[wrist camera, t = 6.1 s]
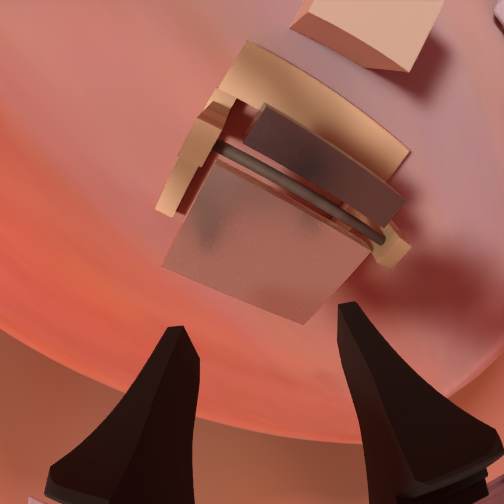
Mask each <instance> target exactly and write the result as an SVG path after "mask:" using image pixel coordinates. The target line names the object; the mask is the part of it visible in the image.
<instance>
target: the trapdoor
mask: <svg viewBox="0 0 504 504" xmlns="http://www.w3.org/2000/svg"><path fill="white" fill-rule="evenodd" d="M243 144H245V145H247V146H249V147H251V148H252V149H254V150H256V151H258V152H260V153H262V154H263V155H265V156H267V157H269V158H271V159H272V160H274V161H276V162H278V163H279V164H281V165H283V166H285V167H286V168H288V169H290V170H292V171H293V172H295V173H297V174H299V175H300V176H302V177H304V178H305V179H307V180H309V181H310V182H312V183H314V184H315V185H317V186H319V187H320V188H322V189H323V190H325V191H327V192H328V193H330V194H332V195H333V196H335V197H336V198H338V199H339V200H341V201H343V202H344V203H346V204H347V205H349V206H350V207H352V208H354V209H355V210H357V211H358V212H360V213H361V214H363V215H364V216H366V217H367V218H369V219H370V220H372V221H373V222H375V223H376V224H378V225H379V226H381V227H382V228H383V229H384V228H385V227H386V226H387V225H388V223H389V222H390V221H391V220H392V218H393V217H394V216H395V215H396V214H397V212H398V211H399V210H400V208H401V207H402V206H403V205H404V203H405V202H406V200H405V199H404V198H403V197H402V196H401V195H400V194H399V193H398V192H397V191H396V190H395V189H394V188H393V187H392V186H390V185H389V184H388V183H386V182H385V181H384V180H383V179H381V178H380V177H379V176H377V175H376V174H375V173H373V172H372V171H371V170H369V169H368V168H366V167H365V166H364V165H362V164H361V163H360V162H358V161H357V160H355V159H354V158H353V157H351V156H350V155H348V154H347V153H345V152H344V151H342V150H341V149H340V148H338V147H337V146H335V145H334V144H332V143H331V142H329V141H328V140H326V139H325V138H323V137H321V136H320V135H318V134H317V133H315V132H314V131H312V130H311V129H309V128H307V127H306V126H304V125H303V124H301V123H299V122H298V121H296V120H294V119H293V118H291V117H289V116H288V115H286V114H284V113H283V112H281V111H279V110H277V109H276V108H274V107H272V106H270V105H269V104H267V103H265V102H264V103H263V104H262V106H261V108H260V109H259V111H258V112H257V114H256V116H255V117H254V119H253V121H252V122H251V124H250V125H249V127H248V129H247V130H246V132H245V134H244V137H243ZM370 252H371V250H370V248H369V246H368V244H367V243H366V242H365V241H364V240H362V239H360V238H359V237H357V236H356V235H354V234H352V233H351V232H349V231H347V230H346V229H344V228H342V227H341V226H339V225H337V224H336V223H334V222H332V221H331V220H329V219H327V218H325V217H324V216H322V215H320V214H319V213H317V212H315V211H313V210H312V209H310V208H308V207H306V206H305V205H303V204H301V203H299V202H298V201H296V200H294V199H292V198H291V197H289V196H287V195H285V194H283V193H281V192H280V191H278V190H276V189H274V188H272V187H271V186H269V185H267V184H265V183H263V182H261V181H259V180H258V179H256V178H254V177H252V176H250V175H248V174H246V173H244V172H242V171H240V170H239V169H237V168H235V167H233V166H231V165H229V164H227V163H225V162H223V161H221V160H219V159H217V158H216V160H215V162H214V164H213V166H212V167H211V169H210V171H209V173H208V175H207V176H206V178H205V180H204V182H203V184H202V186H201V188H200V189H199V191H198V193H197V195H196V197H195V199H194V201H193V203H192V205H191V207H190V208H189V210H188V212H187V214H186V216H185V218H184V220H183V222H182V224H181V226H180V228H179V230H178V232H177V234H176V236H175V238H174V240H173V242H172V244H171V246H170V248H169V250H168V252H167V254H166V257H165V259H164V262H163V265H162V267H164V268H167V269H169V270H171V271H173V272H176V273H178V274H180V275H182V276H185V277H187V278H189V279H192V280H194V281H196V282H199V283H201V284H203V285H206V286H208V287H210V288H213V289H215V290H217V291H220V292H222V293H225V294H227V295H229V296H232V297H234V298H237V299H239V300H241V301H244V302H246V303H249V304H251V305H254V306H256V307H259V308H261V309H264V310H266V311H269V312H271V313H274V314H276V315H279V316H281V317H284V318H287V319H289V320H292V321H294V322H297V323H300V324H302V325H304V324H305V323H306V322H307V321H308V320H309V319H310V318H311V317H312V316H313V315H314V314H315V313H316V312H317V310H318V309H319V308H320V307H321V306H322V305H323V304H324V303H325V302H326V301H327V300H328V299H329V298H330V297H331V296H332V295H333V294H334V292H335V291H336V290H337V289H338V288H339V287H340V286H341V285H342V284H343V283H344V282H345V280H346V279H347V278H348V277H349V276H350V275H351V274H352V273H353V272H354V270H355V269H356V268H357V267H358V266H359V265H360V264H361V263H362V261H363V260H364V259H365V258H366V257H367V256H368V255H369V253H370Z"/></svg>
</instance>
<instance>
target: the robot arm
mask: <svg viewBox="0 0 504 504" xmlns="http://www.w3.org/2000/svg"><path fill="white" fill-rule="evenodd" d="M494 14H495V16H496V17H497V19H498V20H499V21H500V23H501V24H502V25H503V27H504V0H499V1H498V2H497V4H496V6H495V8H494ZM337 343H338V348H339V353H340V358H341V363H342V367H343V370H344V374H345V377H346V380H347V383H348V387H349V390H350V393H351V396H352V400H353V403H354V406H355V410H356V413H357V417H358V421H359V425H360V431H361V436H362V443H363V449H364V456H365V463H366V471H367V480H368V491H369V504H504V474H503V475H501V476H500V477H498V478H496V479H494V480H492V481H491V482H489V483H487V484H486V480H485V478H486V477H487V476H488V472H487V469H486V467H488V466H489V465H491V464H492V463H494V462H495V461H497V460H498V459H499V458H500V457H502V456H503V455H504V448H503V445H502V442H501V439H500V437H499V435H498V433H497V431H496V430H495V429H494V428H492V427H490V426H489V425H487V424H485V423H483V422H481V421H479V420H478V419H476V418H474V417H473V416H471V415H470V414H468V413H467V412H465V411H464V410H462V409H461V408H459V407H458V406H456V405H455V404H454V403H452V402H451V401H450V400H448V399H447V398H446V397H444V396H443V395H442V394H440V393H439V392H438V391H436V390H435V389H434V388H433V387H432V386H431V385H429V384H428V383H427V382H426V381H425V380H424V379H423V378H421V377H420V376H419V375H418V374H417V373H416V372H415V371H414V370H413V369H412V368H411V367H410V366H409V365H408V364H407V363H406V362H405V361H404V360H403V359H402V358H401V357H400V356H399V355H398V354H397V352H396V351H395V350H394V349H393V348H392V347H391V346H390V344H389V343H388V342H387V341H386V340H385V339H384V337H383V336H382V335H381V334H380V333H379V331H378V330H377V329H376V328H375V326H374V325H373V324H372V323H371V321H370V320H369V319H368V317H367V316H366V315H365V313H364V312H363V311H362V309H361V308H360V306H359V305H358V303H356V302H355V301H354V302H348V303H343V304H338V328H337ZM199 384H200V358H199V356H198V354H197V352H196V350H195V348H194V346H193V344H192V342H191V340H190V338H189V336H188V334H187V332H186V330H185V328H184V326H174V327H168V328H167V329H166V331H165V333H164V334H163V336H162V337H161V339H160V341H159V343H158V344H157V346H156V348H155V349H154V351H153V353H152V354H151V356H150V357H149V359H148V361H147V362H146V364H145V365H144V367H143V369H142V370H141V372H140V373H139V375H138V376H137V378H136V379H135V381H134V382H133V384H132V385H131V387H130V388H129V390H128V391H127V392H126V394H125V395H124V397H123V398H122V399H121V401H120V402H119V403H118V404H117V406H116V407H115V408H114V409H113V411H112V412H111V413H110V414H109V415H108V416H107V418H106V419H105V420H104V421H103V422H102V423H101V424H100V425H99V426H98V427H97V429H95V430H94V431H93V432H92V433H91V435H89V436H88V437H87V438H86V439H85V440H84V441H83V442H82V443H81V444H80V445H78V446H77V447H76V448H75V449H73V450H72V451H71V452H70V453H68V454H67V455H66V456H64V457H63V458H62V459H60V460H59V461H57V462H56V463H55V464H53V465H52V466H50V470H49V474H48V478H47V482H46V487H45V491H44V494H45V496H46V497H48V498H50V499H52V500H55V501H57V502H59V503H62V504H195V501H194V489H193V469H192V440H193V429H194V421H195V414H196V407H197V399H198V392H199ZM28 504H47V503H45V502H42V501H40V500H38V499H36V498H33V497H29V501H28Z"/></svg>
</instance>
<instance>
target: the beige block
mask: <svg viewBox="0 0 504 504" xmlns="http://www.w3.org/2000/svg"><path fill="white" fill-rule="evenodd" d="M444 1H445V0H304V2H303V3H302V5H301V7H300V9H299V11H298V13H297V14H296V16H295V18H294V20H293V22H292V24H291V26H290V28H289V29H291V30H294V31H296V32H298V33H300V34H302V35H304V36H306V37H308V38H311V39H313V40H315V41H317V42H319V43H321V44H322V45H324V46H326V47H328V48H330V49H332V50H334V51H336V52H338V53H339V54H341V55H343V56H345V57H346V58H348V59H350V60H352V61H353V62H355V63H357V64H358V65H360V66H362V67H363V68H375V69H385V70H394V71H402V72H410V70H411V68H412V66H413V64H414V62H415V60H416V58H417V56H418V54H419V52H420V50H421V48H422V46H423V44H424V42H425V40H426V38H427V36H428V34H429V32H430V30H431V28H432V26H433V24H434V22H435V20H436V18H437V16H438V14H439V12H440V9H441V7H442V5H443V3H444Z"/></svg>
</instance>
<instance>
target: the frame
mask: <svg viewBox="0 0 504 504" xmlns="http://www.w3.org/2000/svg"><path fill="white" fill-rule="evenodd" d="M237 98H238V99H239V100H241V101H243V102H245V103H247V104H249V105H251V106H253V107H254V108H256V109H258V110H259V109H260V108H261V106H262V104H263V103H264V102H265V103H267V104H269V105H270V106H272V107H274V108H276V109H277V110H279V111H281V112H283V113H284V114H286V115H288V116H289V117H291V118H293V119H294V120H296V121H298V122H299V123H301V124H303V125H304V126H306V127H307V128H309V129H311V130H312V131H314V132H315V133H317V134H318V135H320V136H321V137H323V138H325V139H326V140H328V141H329V142H331V143H332V144H334V145H335V146H337V147H338V148H340V149H341V150H342V151H344V152H345V153H347V154H348V155H350V156H351V157H353V158H354V159H355V160H357V161H358V162H360V163H361V164H362V165H364V166H365V167H366V168H368V169H369V170H371V171H372V172H373V173H375V174H376V175H377V176H379V177H380V178H381V179H383V180H384V181H385V182H387V181H388V180H389V178H390V177H391V176H392V174H393V173H394V172H395V170H396V169H397V167H398V166H399V165H400V163H401V162H402V161H403V159H404V158H405V157H406V155H407V154H408V152H409V150H408V149H407V148H406V147H405V146H403V145H402V144H401V143H400V142H399V141H398V140H396V139H395V138H394V137H393V136H392V135H391V134H389V133H388V132H387V131H386V130H384V129H383V128H382V127H381V126H379V125H378V124H377V123H376V122H374V121H373V120H372V119H371V118H369V117H368V116H367V115H365V114H364V113H363V112H361V111H360V110H359V109H357V108H356V107H355V106H353V105H352V104H351V103H349V102H348V101H346V100H345V99H344V98H342V97H341V96H339V95H338V94H336V93H335V92H334V91H332V90H331V89H329V88H328V87H326V86H325V85H323V84H322V83H320V82H319V81H317V80H315V79H314V78H312V77H311V76H309V75H308V74H306V73H304V72H303V71H301V70H300V69H298V68H296V67H295V66H293V65H291V64H289V63H288V62H286V61H284V60H283V59H281V58H279V57H277V56H276V55H274V54H272V53H270V52H268V51H266V50H265V49H263V48H261V47H259V46H257V45H255V44H253V43H251V42H249V41H247V42H246V44H245V45H244V47H243V48H242V50H241V51H240V53H239V55H238V56H237V58H236V59H235V61H234V63H233V64H232V66H231V68H230V69H229V71H228V73H227V74H226V76H225V78H224V79H223V81H222V83H221V84H220V86H219V87H217V88H216V89H215V91H214V93H213V94H212V96H211V98H210V100H209V101H208V103H207V105H206V107H205V109H204V110H203V112H202V113H201V114H200V115H199V116H198V117H197V118H196V120H195V122H194V124H193V126H192V128H191V130H190V132H189V134H188V136H187V138H186V139H185V141H184V143H183V145H182V147H181V149H180V151H179V153H178V155H177V156H179V158H178V160H177V162H176V165H175V167H174V169H173V171H172V173H171V175H170V177H169V179H168V181H167V183H166V186H165V188H164V190H163V192H162V194H161V197H160V199H159V201H158V203H157V206H156V208H155V210H158V211H160V212H162V213H164V214H166V215H168V216H170V217H172V218H173V216H174V213H175V211H176V209H177V207H178V205H179V203H180V201H181V199H182V197H183V195H184V193H185V191H186V189H187V187H188V185H189V183H190V181H191V180H192V178H193V176H194V174H195V172H196V170H197V168H198V166H200V167H202V166H203V164H204V162H205V160H206V158H207V156H208V155H209V153H210V151H211V150H213V151H215V152H217V153H219V154H221V155H223V156H225V157H227V158H229V159H231V160H233V161H234V162H236V163H238V164H240V165H242V166H244V167H246V168H248V169H250V170H252V171H253V172H255V173H257V174H259V175H261V176H263V177H265V178H266V179H268V180H270V181H272V182H274V183H276V184H277V185H279V186H281V187H283V188H285V189H286V190H288V191H290V192H292V193H293V194H295V195H297V196H299V197H301V198H302V199H304V200H306V201H307V202H309V203H311V204H313V205H314V206H316V207H318V208H320V209H321V210H323V211H325V212H326V213H328V214H330V215H331V216H333V217H332V218H331V219H330V220H331V221H332V222H334V223H336V224H337V225H339V226H341V227H342V228H344V229H346V230H347V231H349V232H350V230H351V229H352V228H353V229H354V230H356V231H358V232H359V233H361V235H362V237H363V238H364V240H365V242H366V243H367V244H368V246H369V248H370V250H371V253H372V254H373V256H374V258H375V260H376V262H377V263H378V264H380V265H382V266H383V267H385V268H387V269H388V270H390V271H391V270H392V269H393V268H394V266H395V265H396V264H397V263H398V262H399V261H400V260H401V259H402V258H403V256H404V255H405V254H406V253H407V252H408V251H409V250H410V248H411V247H412V246H411V245H410V243H409V242H408V240H407V239H406V238H405V236H404V235H403V234H402V232H401V231H400V230H399V228H398V227H397V226H396V225H395V223H394V222H393V221H392V220H391V221H390V222H389V223H388V225H387V226H386V227H385V228H384V229H383V228H382V227H381V226H379V225H378V224H376V223H375V222H373V221H372V220H370V219H369V218H367V217H366V216H364V215H363V214H361V213H360V212H358V211H357V210H355V209H354V208H352V207H350V206H349V205H347V204H346V203H344V202H343V204H342V205H341V206H340V207H339V206H337V205H335V204H334V203H332V202H331V201H329V200H327V199H326V198H324V197H322V196H321V195H319V194H317V193H316V192H314V191H312V190H311V189H309V188H307V187H306V186H304V185H302V184H300V183H299V182H297V181H295V180H294V179H292V178H290V177H288V176H287V175H285V174H283V173H281V172H280V171H278V170H276V169H274V168H272V167H271V166H269V165H267V164H265V163H263V162H262V161H260V160H258V159H256V158H254V157H252V156H250V155H249V154H247V153H245V152H243V151H241V150H239V149H237V148H235V147H233V146H232V145H230V144H228V143H226V142H224V141H222V140H220V139H218V137H219V135H220V133H221V131H222V129H223V127H224V124H225V121H226V119H227V116H228V114H229V111H230V109H231V107H232V105H233V104H234V102H235V100H236V99H237Z"/></svg>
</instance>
